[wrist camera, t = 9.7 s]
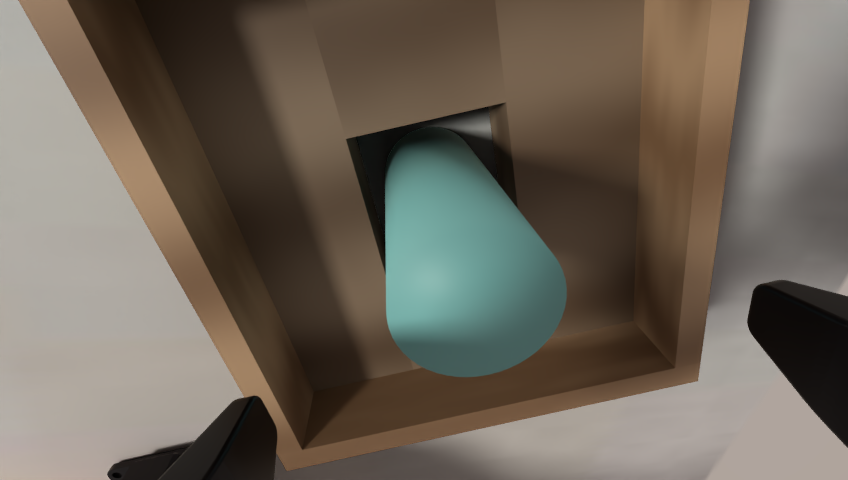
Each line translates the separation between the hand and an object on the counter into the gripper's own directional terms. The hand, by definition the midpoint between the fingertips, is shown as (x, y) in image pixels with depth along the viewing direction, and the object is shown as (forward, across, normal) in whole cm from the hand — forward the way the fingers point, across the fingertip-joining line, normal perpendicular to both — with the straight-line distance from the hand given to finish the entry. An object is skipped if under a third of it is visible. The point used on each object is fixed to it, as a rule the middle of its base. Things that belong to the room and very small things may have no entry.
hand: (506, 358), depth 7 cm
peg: (+12, 0, 0) cm, 12 cm away
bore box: (+12, 0, 0) cm, 12 cm away
